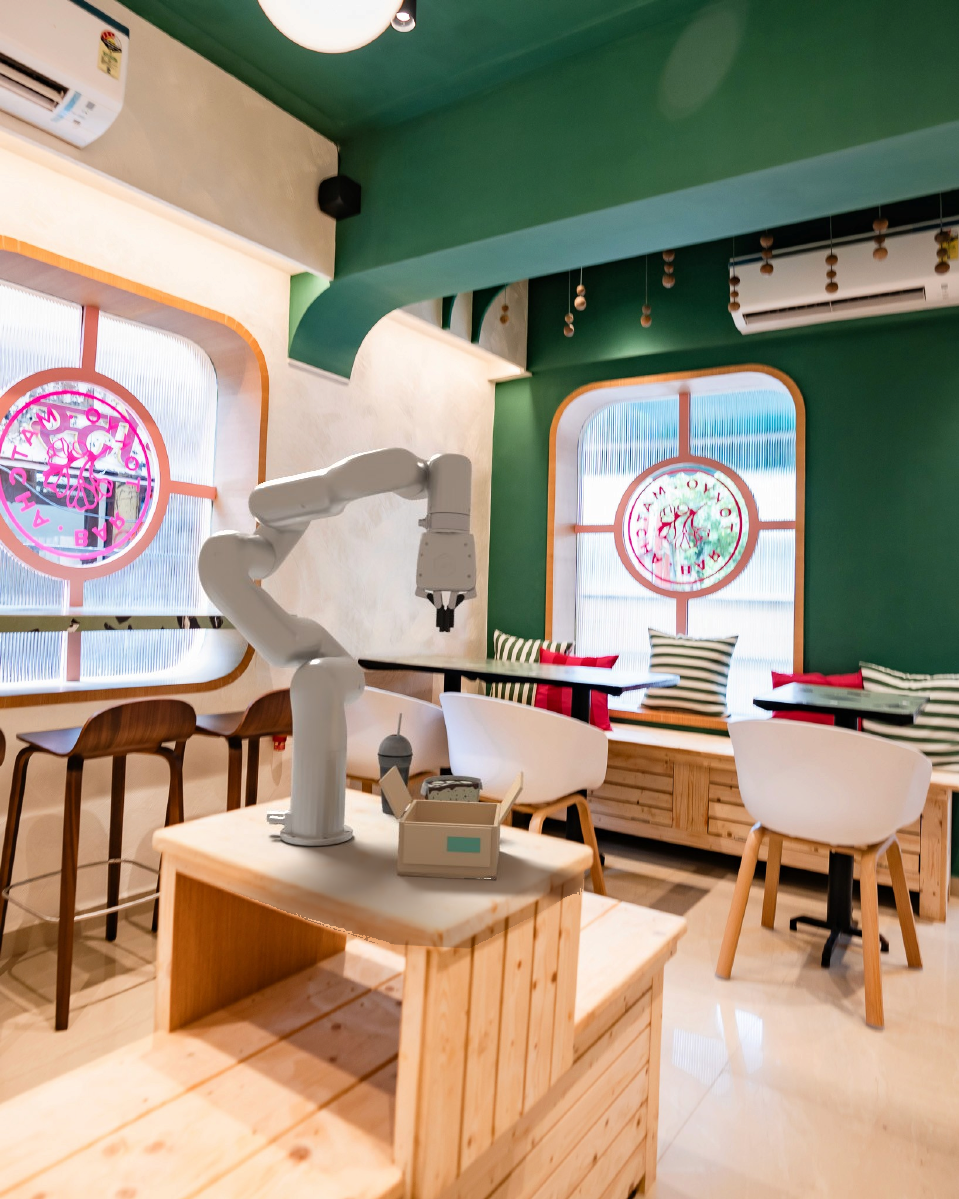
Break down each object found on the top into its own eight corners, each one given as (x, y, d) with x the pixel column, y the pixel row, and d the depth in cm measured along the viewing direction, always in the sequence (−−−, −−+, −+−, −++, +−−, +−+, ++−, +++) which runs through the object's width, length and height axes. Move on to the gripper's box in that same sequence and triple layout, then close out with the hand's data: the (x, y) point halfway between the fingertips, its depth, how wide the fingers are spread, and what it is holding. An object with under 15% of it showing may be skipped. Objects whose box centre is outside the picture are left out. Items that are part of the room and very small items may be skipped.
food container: (463, 825, 153) (465, 772, 153) (481, 832, 148) (483, 778, 148) (406, 833, 146) (408, 778, 147) (423, 841, 141) (425, 784, 141)
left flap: (399, 818, 123) (396, 819, 123) (412, 799, 136) (409, 800, 136) (381, 780, 123) (378, 782, 123) (395, 765, 137) (393, 766, 137)
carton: (396, 876, 121) (398, 823, 121) (412, 845, 138) (414, 798, 138) (495, 881, 120) (497, 827, 120) (499, 849, 137) (501, 802, 137)
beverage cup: (393, 805, 168) (396, 710, 169) (418, 811, 163) (421, 713, 164) (367, 811, 162) (371, 712, 163) (393, 817, 158) (396, 715, 158)
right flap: (520, 786, 122) (523, 788, 122) (520, 770, 136) (523, 772, 136) (498, 822, 122) (501, 824, 122) (501, 803, 136) (503, 804, 136)
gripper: (402, 522, 136) (398, 630, 135) (490, 524, 134) (486, 633, 134) (409, 528, 143) (405, 630, 142) (492, 530, 142) (489, 633, 141)
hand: (444, 631), depth 138 cm, fingers closed
